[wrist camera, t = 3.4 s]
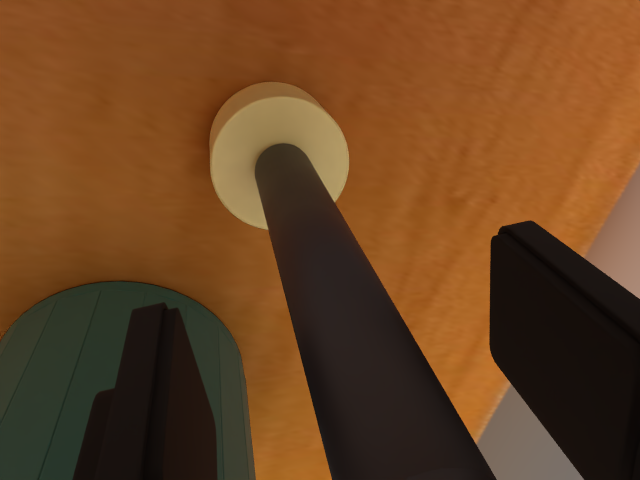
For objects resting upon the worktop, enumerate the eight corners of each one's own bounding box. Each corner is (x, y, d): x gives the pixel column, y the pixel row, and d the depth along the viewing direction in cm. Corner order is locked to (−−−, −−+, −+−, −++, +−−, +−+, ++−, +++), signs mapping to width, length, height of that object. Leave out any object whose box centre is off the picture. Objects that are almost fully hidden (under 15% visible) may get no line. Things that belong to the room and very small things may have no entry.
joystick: (195, 94, 20) (160, 530, 4) (323, 70, 21) (726, 377, 5) (224, 213, 22) (274, 784, 6) (339, 188, 23) (644, 662, 7)
